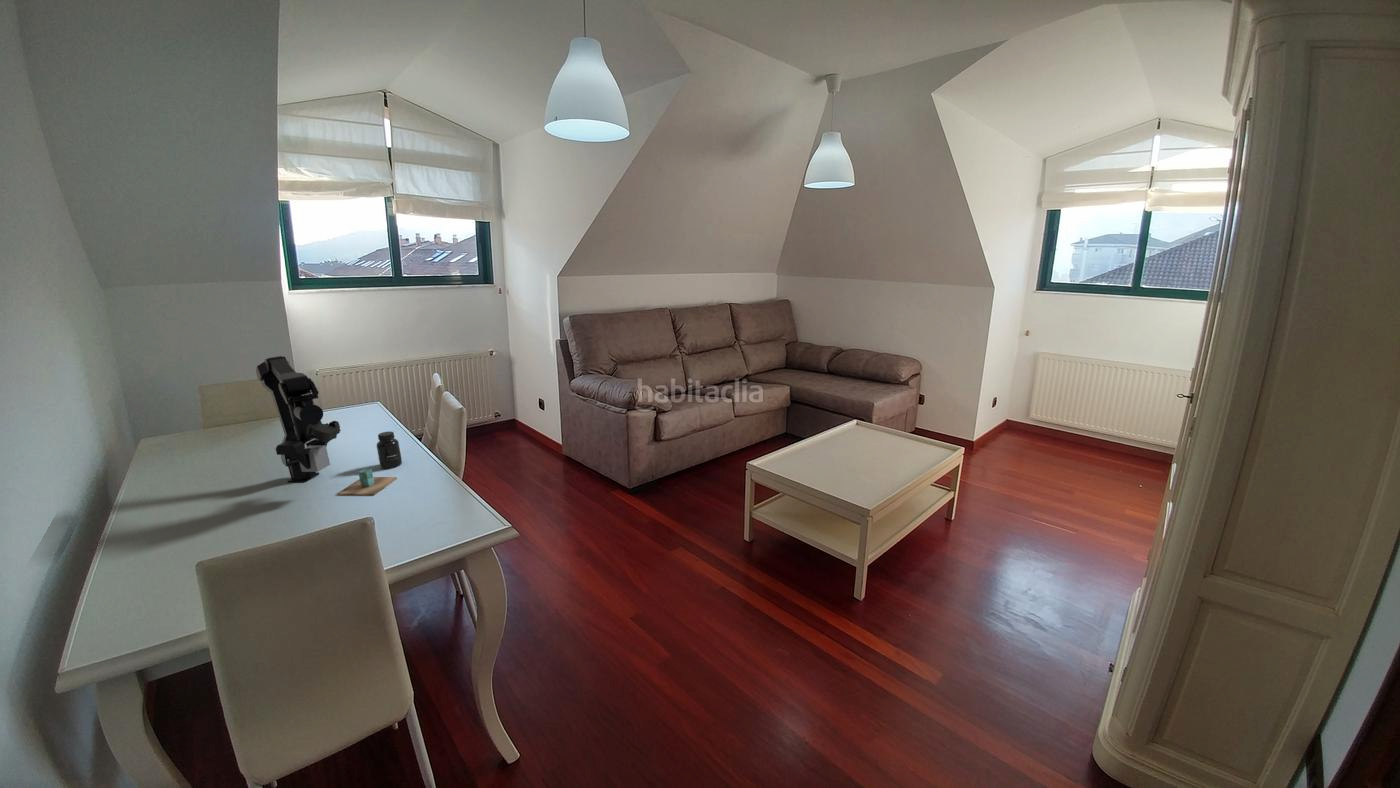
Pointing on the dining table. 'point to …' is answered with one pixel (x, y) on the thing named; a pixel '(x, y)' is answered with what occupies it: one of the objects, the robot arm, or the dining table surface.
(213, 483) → the dining table surface
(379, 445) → the supplement bottle
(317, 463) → the grey rectangular block
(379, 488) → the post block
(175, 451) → the dining table surface
